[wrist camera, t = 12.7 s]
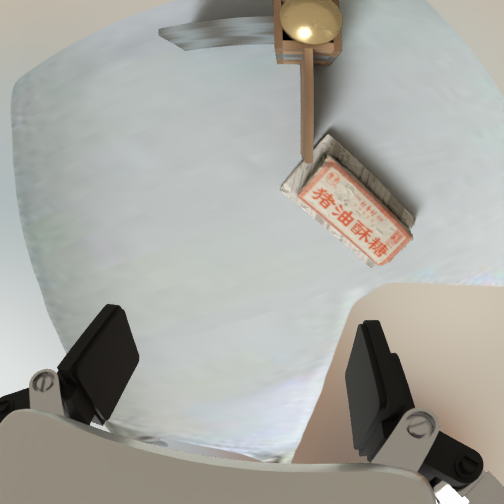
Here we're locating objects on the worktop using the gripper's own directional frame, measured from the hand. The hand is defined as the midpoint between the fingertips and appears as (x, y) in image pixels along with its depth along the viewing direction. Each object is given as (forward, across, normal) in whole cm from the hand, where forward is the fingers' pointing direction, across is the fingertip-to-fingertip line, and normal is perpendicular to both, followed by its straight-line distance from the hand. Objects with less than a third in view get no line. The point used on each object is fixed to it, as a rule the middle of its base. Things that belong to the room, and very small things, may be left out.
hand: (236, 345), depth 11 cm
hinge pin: (+30, -4, -19) cm, 36 cm away
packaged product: (+31, -11, +3) cm, 33 cm away
